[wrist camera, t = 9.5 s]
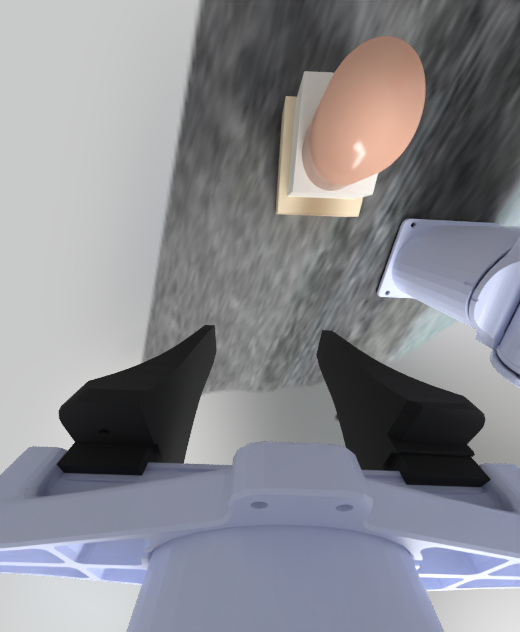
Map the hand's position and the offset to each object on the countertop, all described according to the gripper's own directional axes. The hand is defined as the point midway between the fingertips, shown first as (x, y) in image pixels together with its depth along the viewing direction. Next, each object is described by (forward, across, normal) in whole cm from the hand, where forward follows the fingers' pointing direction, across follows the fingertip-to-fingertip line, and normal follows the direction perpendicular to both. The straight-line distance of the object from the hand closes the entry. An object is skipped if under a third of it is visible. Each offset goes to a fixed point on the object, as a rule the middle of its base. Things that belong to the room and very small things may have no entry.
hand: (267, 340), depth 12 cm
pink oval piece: (+5, -4, -11) cm, 13 cm away
